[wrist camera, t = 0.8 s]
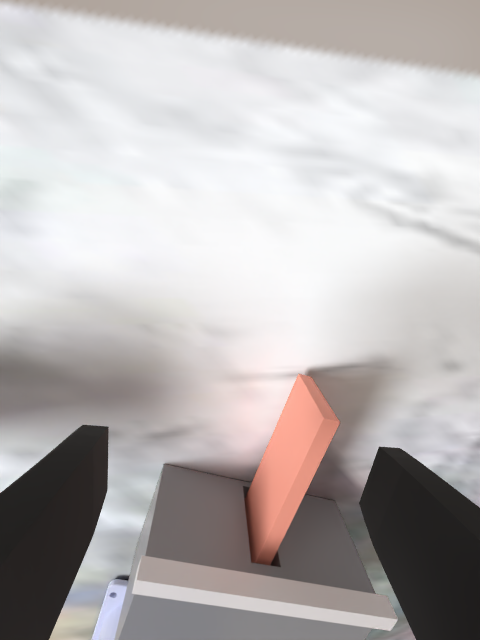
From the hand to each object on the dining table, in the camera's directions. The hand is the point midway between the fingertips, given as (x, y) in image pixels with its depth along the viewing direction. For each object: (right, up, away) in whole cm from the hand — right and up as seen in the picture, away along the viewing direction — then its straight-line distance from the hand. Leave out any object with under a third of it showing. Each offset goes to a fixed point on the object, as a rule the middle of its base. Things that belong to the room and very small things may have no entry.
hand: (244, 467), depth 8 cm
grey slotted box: (0, -10, +13) cm, 17 cm away
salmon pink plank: (+1, -5, +11) cm, 12 cm away
